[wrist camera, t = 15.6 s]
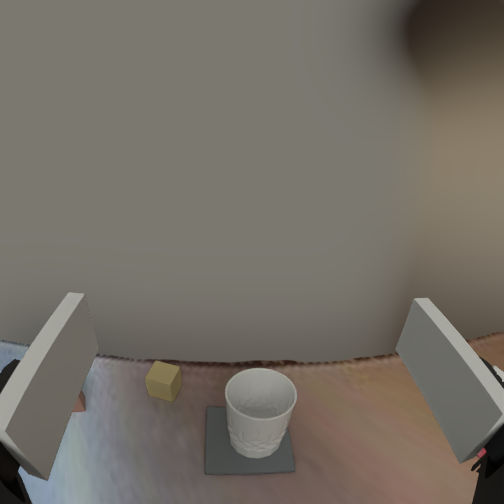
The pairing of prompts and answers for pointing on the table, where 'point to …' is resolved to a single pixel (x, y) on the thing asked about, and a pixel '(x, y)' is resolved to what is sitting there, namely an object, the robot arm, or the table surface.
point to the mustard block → (164, 381)
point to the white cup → (258, 410)
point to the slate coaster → (232, 463)
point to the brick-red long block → (79, 403)
